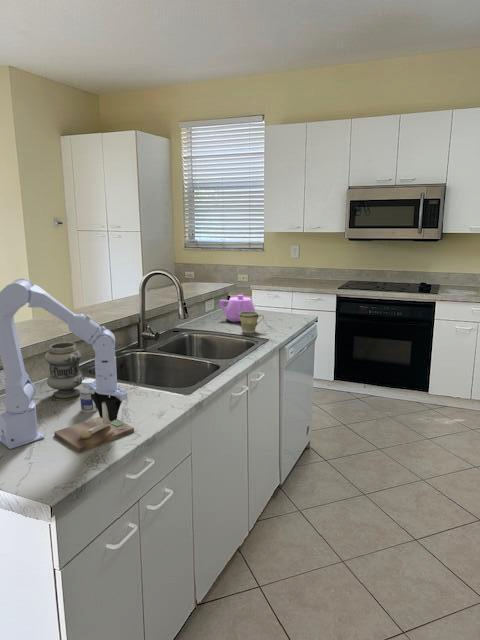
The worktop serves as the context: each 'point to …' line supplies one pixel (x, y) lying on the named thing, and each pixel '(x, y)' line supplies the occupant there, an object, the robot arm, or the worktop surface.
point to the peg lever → (106, 422)
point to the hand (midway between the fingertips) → (108, 418)
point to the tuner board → (99, 437)
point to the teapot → (237, 307)
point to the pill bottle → (87, 397)
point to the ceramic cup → (249, 321)
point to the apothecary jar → (64, 370)
